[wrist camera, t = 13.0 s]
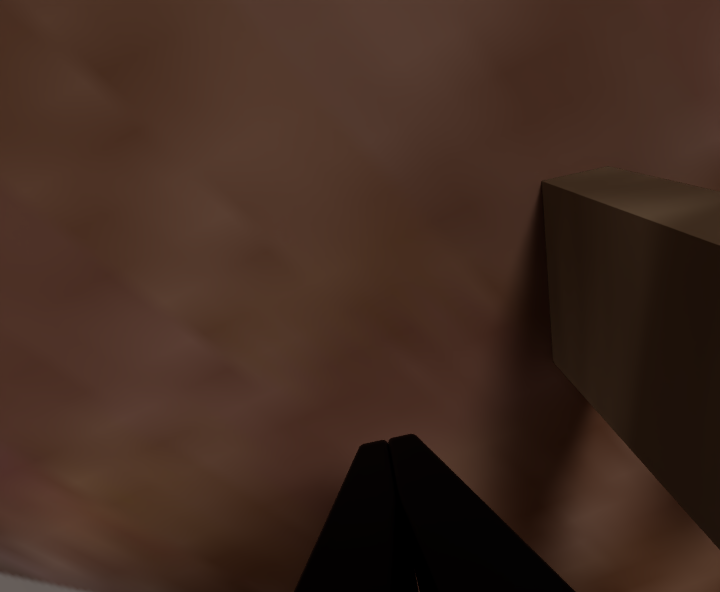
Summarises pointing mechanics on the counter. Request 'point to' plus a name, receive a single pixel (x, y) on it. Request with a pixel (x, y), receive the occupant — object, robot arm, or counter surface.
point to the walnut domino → (642, 319)
